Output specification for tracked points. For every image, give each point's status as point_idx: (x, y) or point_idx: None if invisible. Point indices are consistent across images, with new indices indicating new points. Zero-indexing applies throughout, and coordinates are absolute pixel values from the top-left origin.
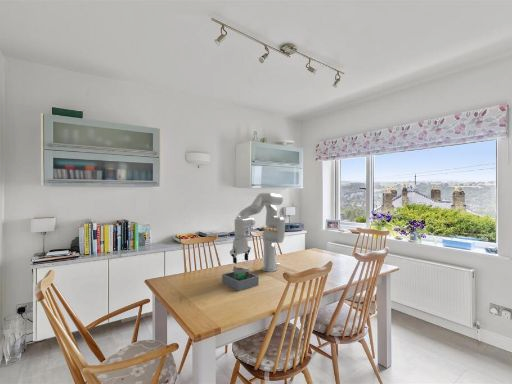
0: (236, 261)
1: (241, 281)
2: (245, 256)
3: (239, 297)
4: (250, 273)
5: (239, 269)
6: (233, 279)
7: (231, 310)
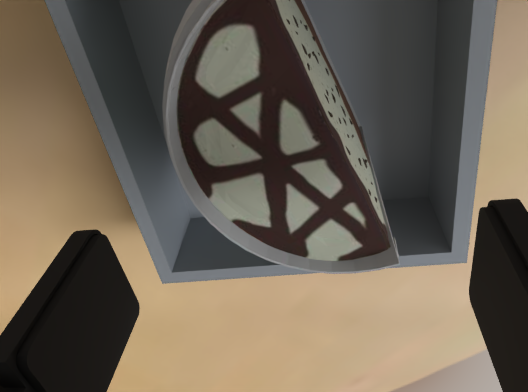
0: (116, 350)
1: (200, 276)
2: (515, 332)
3: (146, 304)
4: (470, 127)
5: (223, 233)
6: (130, 204)
7: None
